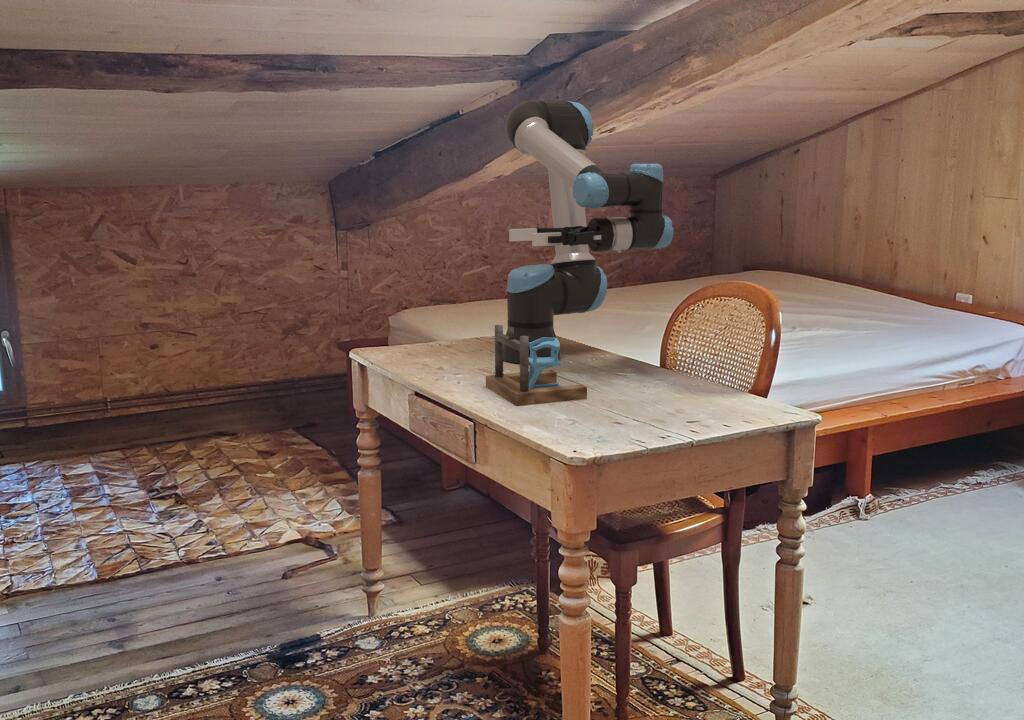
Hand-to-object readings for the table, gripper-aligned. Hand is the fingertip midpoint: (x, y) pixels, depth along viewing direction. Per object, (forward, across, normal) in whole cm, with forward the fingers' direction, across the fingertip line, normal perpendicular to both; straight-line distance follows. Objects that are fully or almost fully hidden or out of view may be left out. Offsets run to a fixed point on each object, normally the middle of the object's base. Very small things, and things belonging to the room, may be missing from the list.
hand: (520, 237), depth 218 cm
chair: (-2, -9, -33) cm, 34 cm away
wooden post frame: (0, -9, -33) cm, 34 cm away
